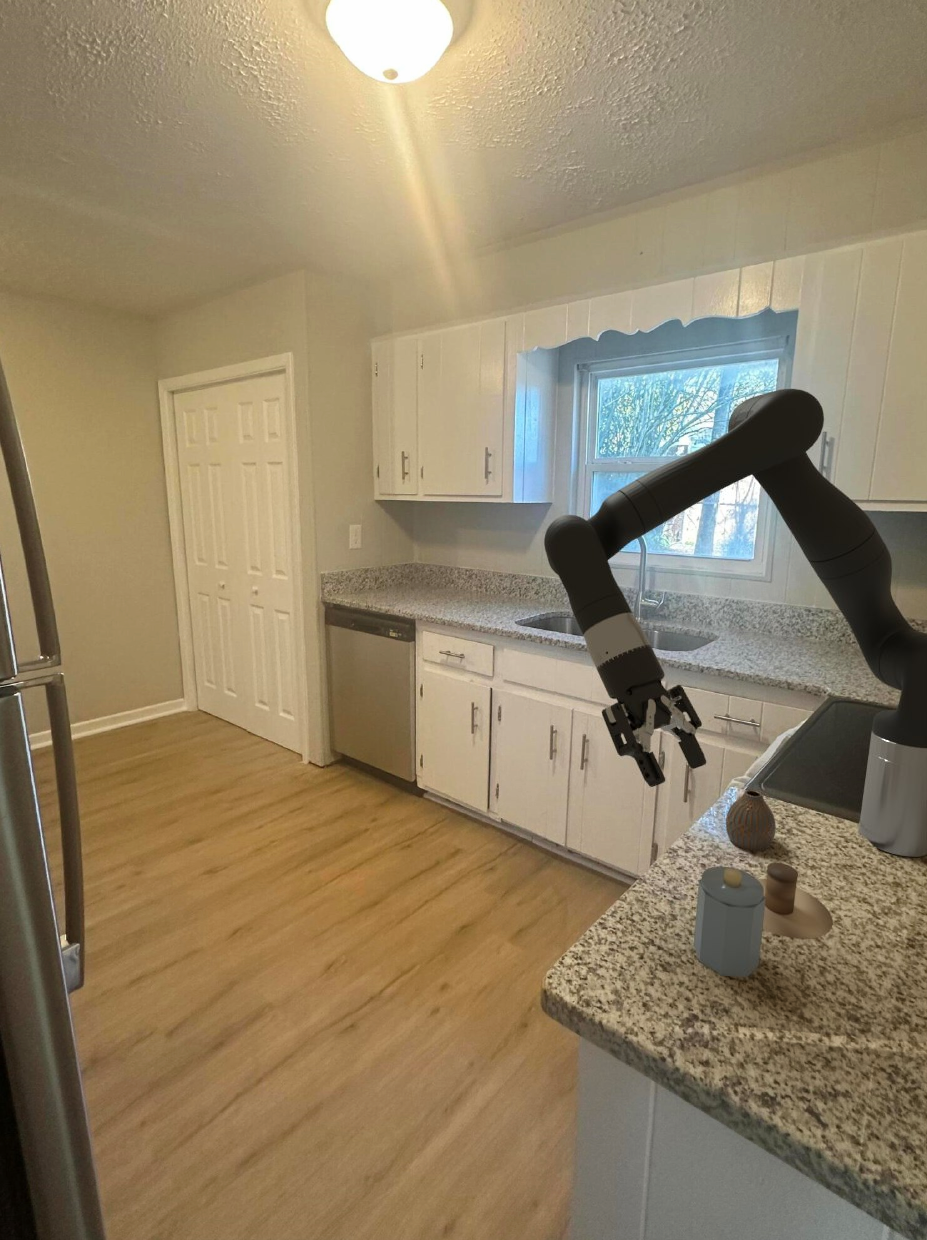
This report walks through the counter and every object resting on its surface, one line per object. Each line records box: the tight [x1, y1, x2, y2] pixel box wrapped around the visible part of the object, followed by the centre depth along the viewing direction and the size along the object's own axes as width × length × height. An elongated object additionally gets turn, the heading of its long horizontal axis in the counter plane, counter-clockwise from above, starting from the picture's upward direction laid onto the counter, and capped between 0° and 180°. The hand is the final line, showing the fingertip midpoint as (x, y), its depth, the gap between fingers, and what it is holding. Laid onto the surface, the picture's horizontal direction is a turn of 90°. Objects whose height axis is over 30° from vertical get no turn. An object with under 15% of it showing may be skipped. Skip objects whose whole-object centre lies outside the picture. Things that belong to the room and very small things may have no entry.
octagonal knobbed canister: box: [693, 865, 766, 978], centre depth 70 cm, size 6×6×11 cm
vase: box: [725, 789, 777, 852], centre depth 95 cm, size 7×7×9 cm
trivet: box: [756, 878, 833, 940], centre depth 80 cm, size 12×12×1 cm
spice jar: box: [765, 862, 799, 915], centre depth 80 cm, size 4×4×5 cm
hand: (679, 775), depth 76 cm, fingers open, 8 cm apart
